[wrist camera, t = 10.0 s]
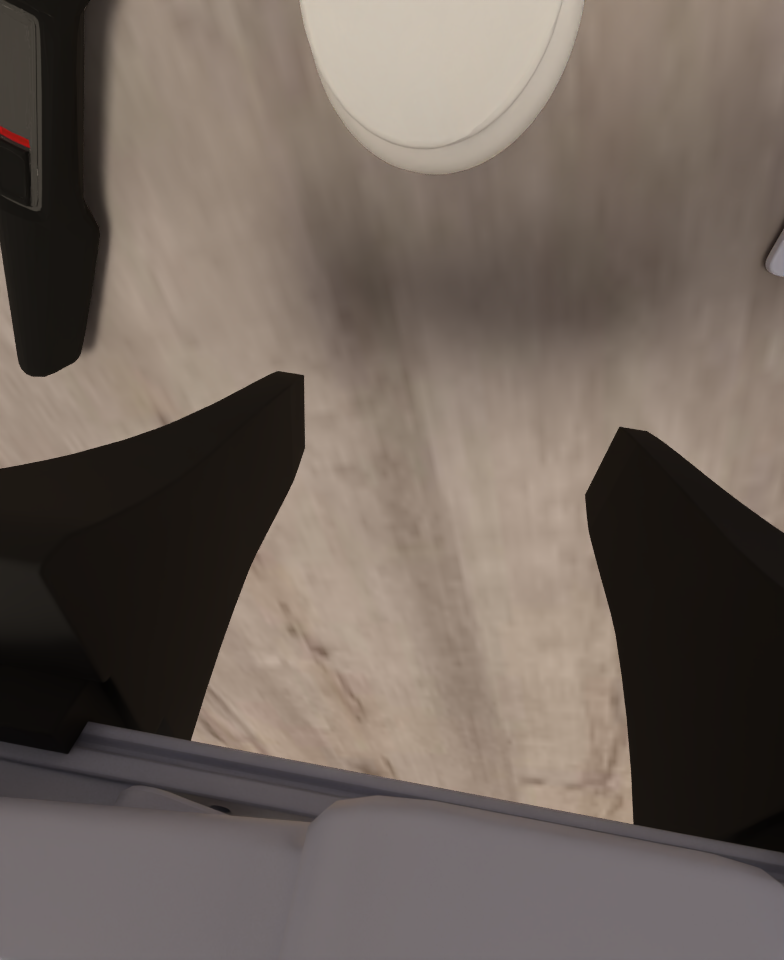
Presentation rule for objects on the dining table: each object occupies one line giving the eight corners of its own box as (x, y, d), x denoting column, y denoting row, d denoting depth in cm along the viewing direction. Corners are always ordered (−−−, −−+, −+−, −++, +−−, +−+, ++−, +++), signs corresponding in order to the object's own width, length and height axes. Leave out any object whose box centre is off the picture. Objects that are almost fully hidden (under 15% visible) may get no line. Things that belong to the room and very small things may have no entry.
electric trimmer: (30, 329, 23) (-22, 358, 20) (-13, -151, 13) (-124, -205, 11) (108, 363, 23) (67, 395, 21) (122, -72, 14) (47, -105, 11)
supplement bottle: (398, -136, 12) (283, -504, 5) (583, -44, 13) (741, -242, 5) (346, 112, 16) (231, 127, 8) (493, 176, 16) (513, 244, 9)
